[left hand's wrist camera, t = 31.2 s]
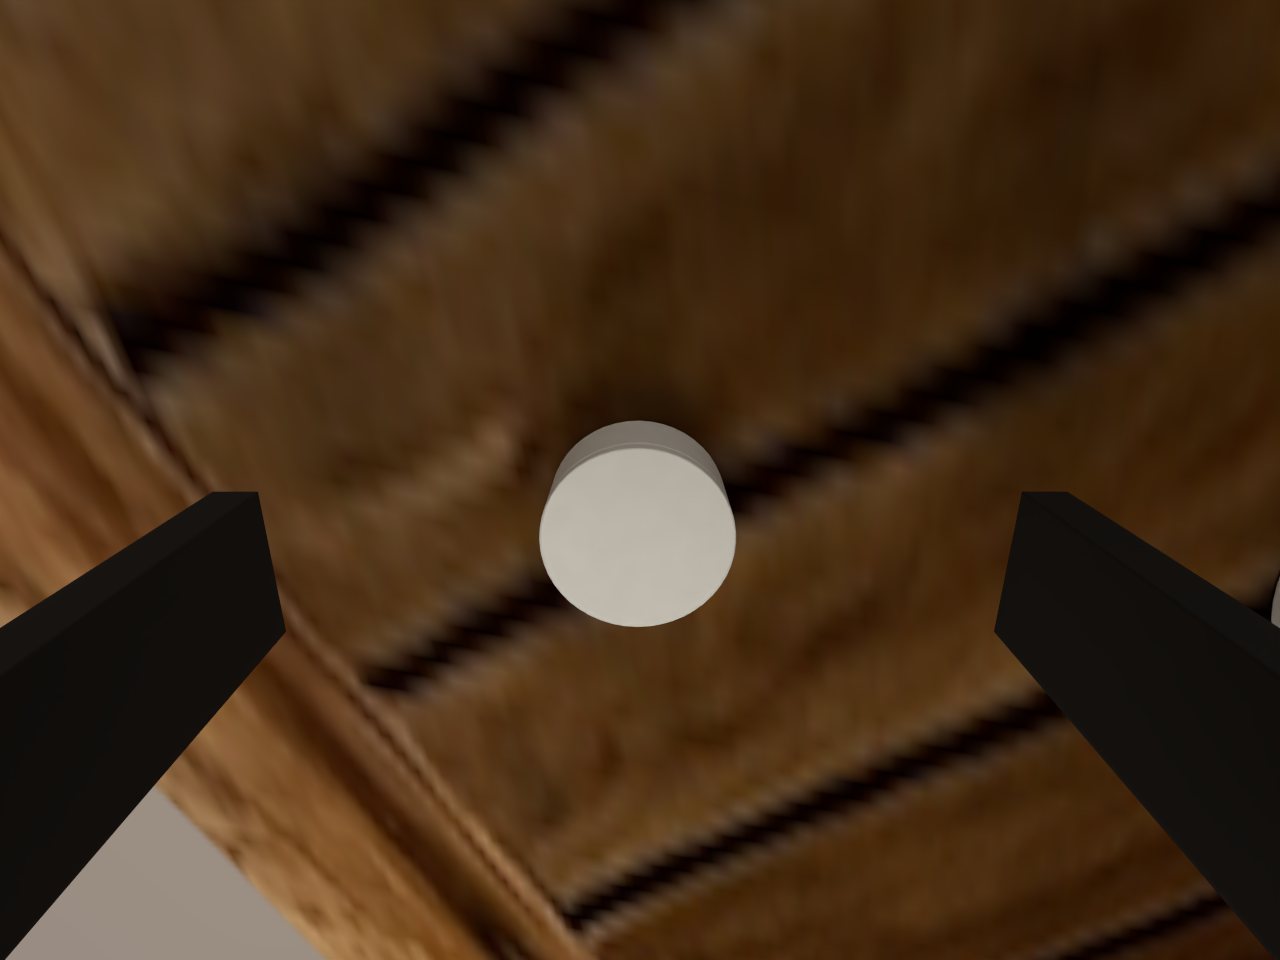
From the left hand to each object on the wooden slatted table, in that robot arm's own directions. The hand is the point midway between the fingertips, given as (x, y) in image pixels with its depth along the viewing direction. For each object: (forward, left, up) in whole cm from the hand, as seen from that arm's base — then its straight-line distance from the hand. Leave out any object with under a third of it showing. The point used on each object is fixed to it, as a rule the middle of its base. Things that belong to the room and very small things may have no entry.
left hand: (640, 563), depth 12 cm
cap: (0, 0, -1) cm, 1 cm away
